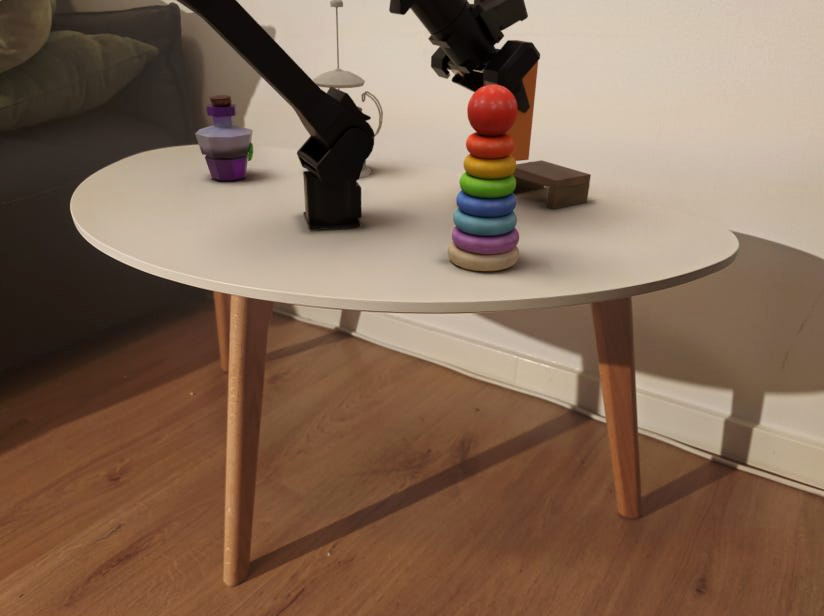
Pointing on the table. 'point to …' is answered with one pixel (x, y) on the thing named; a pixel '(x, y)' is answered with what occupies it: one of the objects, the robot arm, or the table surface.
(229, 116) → the potion bottle
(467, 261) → the stacking toy
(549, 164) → the walnut shelf
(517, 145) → the orange box
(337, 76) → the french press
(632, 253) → the table surface
